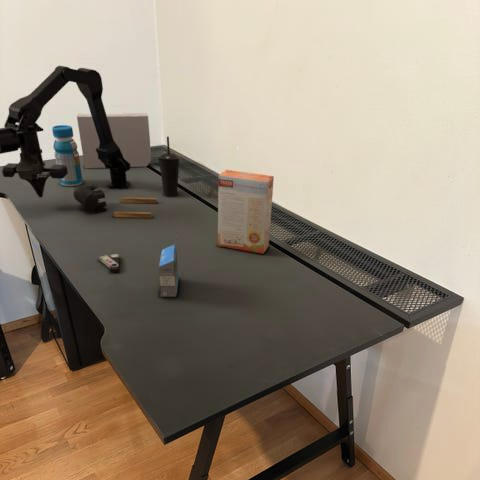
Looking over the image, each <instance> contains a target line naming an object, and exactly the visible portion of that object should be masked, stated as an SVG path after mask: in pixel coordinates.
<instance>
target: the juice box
mask: <svg viewBox="0 0 480 480" xmlns="http://www.w3.org/2000/svg"><path fill="white" fill-rule="evenodd" d="M177 240H178V235H177V234H176V236H175V240H174V241H175V242H174V244H173V245H170V246H167V247H165V248H162V249H161V253H160V258H159V264H158V273H159V274H158V275H159V289H160V297H161V298H176V297H177V294H178V288H179V269H178V268H179V267H178V249H177Z"/></svg>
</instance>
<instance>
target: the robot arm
mask: <svg viewBox="0 0 480 480" xmlns="http://www.w3.org/2000/svg"><path fill="white" fill-rule="evenodd" d="M102 79H103V78H102V76H101V73H100V72H99V71H98V70H96V69H91V68H87V67H79V68H77V69H73V68H71V67H68V66H65V65H58V66H56V67H55V69H54V70H53V71H52V72H50V74H49V75H48V76H47V77H46V78H45V79H44V80H43V81H42V82H41V83H40V84H39V85H38V86H37V87H35V89H34V90H33V91H32V92H30V93H29V94H28V95H25V96H23V97H21V98H18V99H17V100H15V101H13V102H12V103H10V105H9V107H8V115H7V117H6V119H5V122H4V125H3V127H0V155H1V154H7V153H12V152H17V151H19V150H20V153H19V158H20V160H19V162H18V163H14V162H8V163H7V164H5V165H4V166H3V167H2V168H1V174H2V177H3V178H14V177H15V175H16V174H17V175H18V177H19V179H20V180H23V181H26V182H27V183H29V184H30V186H31V187H32V188H33V190H34V191H35V193H36V195H37V197H38V198H40V199H41V198H43V197H44V191H45V186H46V182H47V179H49V178H50V177H51V178H52V179H58V180H60V179H62V178H64V177H65V176H66V175H67V174H68V170H67V167H66V166H65V165H57V164H52V166H50V167H45V166H46V162H44V159H43V155H42V153H43V149H42V148H41V145H40V141H39V135H38V133H39V132H44V128H43V127H41V126H40V125H39V124H38V123H37V122H38V120H39V119H40V117H41V115H42V112H43V109H44V108H45V106H46V105H47V104H48V103H49V102H50V101H51V100H52V99H53V98H54V97H55V96H56V95H57V94H58V93H59V92H60V91H61V90H62V89H63V88H64V87H65V86H66V85H67V84H68V83H69V82H71V83H75V84H76V86H77V88H78V91H79V92H80V93H81V94H82V96H83V97H84V98H85V100H86V102H87V105H88V109H89V112H90V114H91V116H92V119H93V122H94V125H95V128H96V132H97V135H98V138H99V142H100V144H99V148H96V152H97V154H98V159H100V160H101V162H102V163H104V165H105V167H106V168H105V169H109V174H110V182H111V183H110V184H109V186H108V188H110V189H127V188H128V187H129V185H130V181H128V178H127V172H128V171H130V170H131V167H130V163H128V162H127V161H126V160H125V159H124V157H123V154H122V152H121V150H120V148H119V147H118V145H117V144H116V143H115V141H114V140H113V136H112V133H111V129H110V126H109V122H108V119H107V116H106V114H107V113H106V108H105V105H104V102H103V98H102V97H103V91H104V87H103V80H102Z"/></svg>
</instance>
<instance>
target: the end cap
mask: <svg viewBox="0 0 480 480" xmlns="http://www.w3.org/2000/svg"><path fill="white" fill-rule="evenodd" d="M73 197H74V199H75V200H76V202H78V203H79V204H81V206H83V207H84V208H86V210H87V211H89V212H91V213H93V214H96V213H101V212H106V211H107V202H106V201H105V200H104V201H100V200H101V199H106V195H105V192H104V191H103V190H102V189H98V186H96V185H95V184H93V185H87V186H84V185H83V184H80V185H77V186H75V188H74V190H73Z"/></svg>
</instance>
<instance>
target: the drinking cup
mask: <svg viewBox="0 0 480 480" xmlns="http://www.w3.org/2000/svg"><path fill="white" fill-rule="evenodd" d="M166 146H167V147H166V148H167V149H166V150H167V151H164V152H161V153H160V154H158V155H157V159H158V164H159V171H160V177H161V182H162V189H163V195H164V196H165V197H168V198H169V197H170V198H171V197H176V196H178V192H179V191H178V190H179V189H178V188H179V168H180V158H181V155H180V154H178V153H176V152H174V151H170V136H166Z"/></svg>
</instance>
